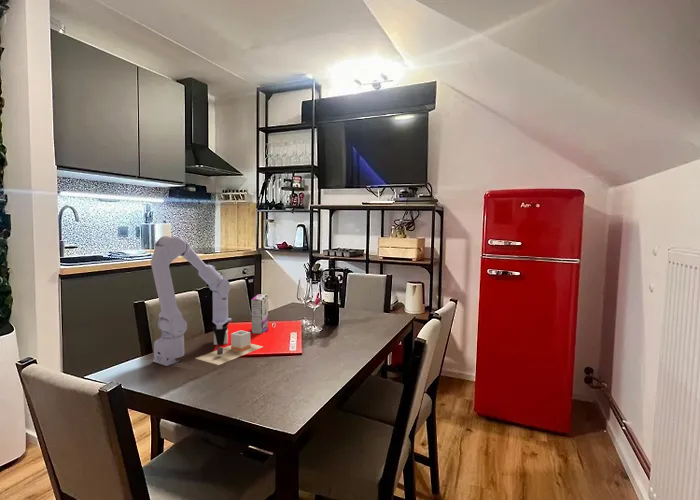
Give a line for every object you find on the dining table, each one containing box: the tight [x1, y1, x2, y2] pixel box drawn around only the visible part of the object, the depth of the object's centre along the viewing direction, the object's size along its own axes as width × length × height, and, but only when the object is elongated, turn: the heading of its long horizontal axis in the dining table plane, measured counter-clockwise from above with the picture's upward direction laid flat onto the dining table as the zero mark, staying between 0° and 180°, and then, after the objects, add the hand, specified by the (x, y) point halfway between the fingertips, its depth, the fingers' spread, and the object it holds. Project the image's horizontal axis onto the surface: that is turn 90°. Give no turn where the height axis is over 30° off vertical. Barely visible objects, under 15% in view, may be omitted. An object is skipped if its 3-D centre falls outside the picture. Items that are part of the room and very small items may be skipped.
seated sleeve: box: [230, 330, 252, 351], centre depth 145 cm, size 5×5×6 cm
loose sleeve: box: [213, 328, 229, 346], centre depth 152 cm, size 5×5×6 cm
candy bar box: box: [250, 293, 269, 334], centre depth 170 cm, size 11×5×16 cm, turn 179°
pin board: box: [194, 343, 264, 366], centre depth 141 cm, size 22×12×5 cm, turn 150°
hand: (221, 341), depth 152 cm, fingers closed on loose sleeve, 5 cm apart
